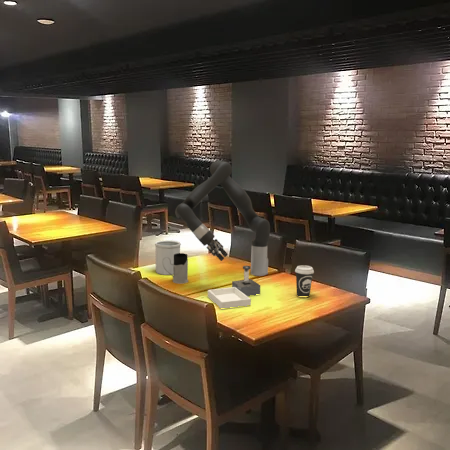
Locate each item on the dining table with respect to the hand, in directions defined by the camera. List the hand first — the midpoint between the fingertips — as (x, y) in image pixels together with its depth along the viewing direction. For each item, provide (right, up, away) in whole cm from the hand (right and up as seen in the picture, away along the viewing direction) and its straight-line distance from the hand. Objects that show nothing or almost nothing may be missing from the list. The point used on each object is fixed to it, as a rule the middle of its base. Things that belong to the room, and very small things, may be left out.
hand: (224, 257), depth 259 cm
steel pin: (+11, -18, +1) cm, 21 cm away
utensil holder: (-33, -11, +35) cm, 50 cm away
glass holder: (-27, -14, +17) cm, 35 cm away
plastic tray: (+2, -21, -12) cm, 24 cm away
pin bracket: (+11, -18, +1) cm, 21 cm away
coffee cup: (+40, -20, -2) cm, 45 cm away
